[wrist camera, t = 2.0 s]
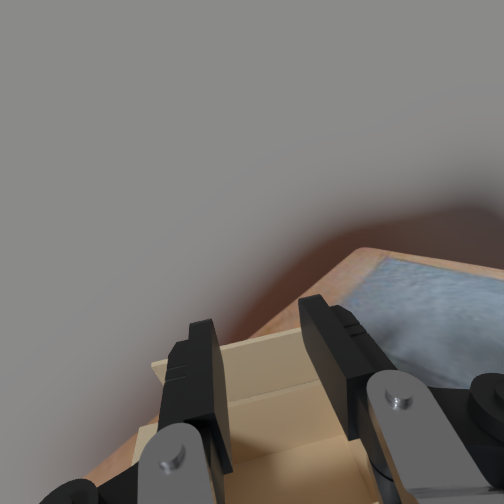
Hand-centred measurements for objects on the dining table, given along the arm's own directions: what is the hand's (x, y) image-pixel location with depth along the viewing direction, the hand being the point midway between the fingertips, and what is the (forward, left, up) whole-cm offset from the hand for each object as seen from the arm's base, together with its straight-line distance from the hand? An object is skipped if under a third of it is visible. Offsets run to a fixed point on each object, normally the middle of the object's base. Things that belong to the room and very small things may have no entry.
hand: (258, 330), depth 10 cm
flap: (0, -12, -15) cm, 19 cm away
